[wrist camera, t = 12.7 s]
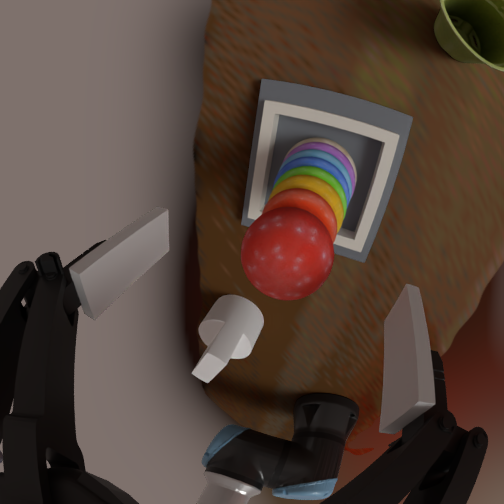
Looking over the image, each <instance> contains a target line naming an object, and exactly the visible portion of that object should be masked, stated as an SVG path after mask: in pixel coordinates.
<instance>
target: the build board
mask: <svg viewBox="0 0 504 504" xmlns="http://www.w3.org/2000/svg"><path fill="white" fill-rule="evenodd" d="M412 119H413V117H411V116H409V115H406V114H403V113H401V112H398V111H395V110H393V109H390V108H387V107H384V106H381V105H378V104H375V103H372V102H369V101H365V100H362V99H359V98H355V97H352V96H348V95H344V94H340V93H336V92H332V91H328V90H324V89H319V88H315V87H310V86H305V85H300V84H294V83H288V82H282V81H276V80H268V79H262V81H261V87H260V94H259V100H258V107H257V114H256V121H255V128H254V135H253V142H252V149H251V156H250V163H249V170H248V178H247V185H246V192H245V200H244V207H243V215H242V223H241V225H244V226H248V227H250V226H251V224H252V223H253V222H254V221H255V220H256V219H257V218H258V217H259V216H261V215H262V212H263V209H264V207H265V205H266V204H267V202H268V200H269V197H270V194H271V193H272V190H273V185H274V181H275V178H276V176H277V174H278V171H279V169H280V167H281V165H282V163H283V161H284V158H285V156H286V154H287V153H288V151H289V150H290V149H291V148H292V147H293V146H294V145H296V144H297V143H298V142H300V141H303V140H305V139H309V138H326V139H330V140H332V141H334V142H336V143H338V144H340V145H341V146H342V147H343V148H344V149H345V150H346V151H347V152H348V153H349V155H350V156H351V158H352V159H353V161H354V164H355V167H356V172H357V181H356V186H355V189H354V193H353V195H352V197H351V199H350V202H349V204H348V207H347V210H346V214H345V218H344V220H343V222H342V226H341V228H340V230H339V232H338V233H337V235H336V239H335V241H334V243H333V247H334V253H335V254H339V255H342V256H345V257H348V258H351V259H354V260H357V261H360V262H363V263H365V260H366V258H367V255H368V253H369V251H370V248H371V246H372V243H373V241H374V238H375V236H376V233H377V231H378V228H379V226H380V223H381V220H382V218H383V215H384V212H385V209H386V207H387V204H388V201H389V198H390V195H391V192H392V189H393V186H394V183H395V180H396V177H397V174H398V171H399V167H400V164H401V161H402V157H403V154H404V150H405V147H406V143H407V139H408V135H409V132H410V128H411V124H412Z"/></svg>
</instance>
